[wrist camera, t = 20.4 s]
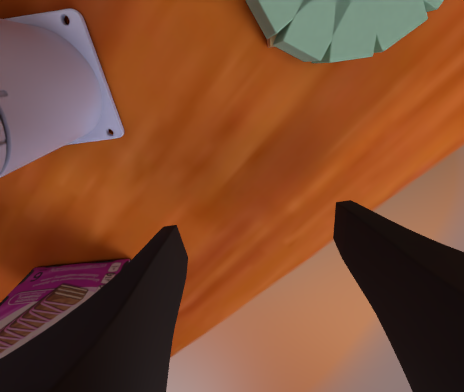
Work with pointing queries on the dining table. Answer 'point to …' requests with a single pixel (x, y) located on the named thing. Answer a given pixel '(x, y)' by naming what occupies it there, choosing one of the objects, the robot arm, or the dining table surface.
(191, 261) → the dining table surface
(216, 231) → the dining table surface
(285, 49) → the ring
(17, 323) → the candy bar box
